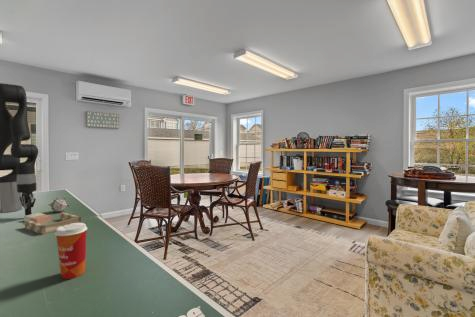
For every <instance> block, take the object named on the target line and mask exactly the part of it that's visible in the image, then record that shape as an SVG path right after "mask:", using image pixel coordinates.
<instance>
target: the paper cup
mask: <svg viewBox="0 0 475 317" xmlns="http://www.w3.org/2000/svg"><path fill="white" fill-rule="evenodd" d="M87 230H88V227H87V225H86V223H84V222H81V223H72V224H69V225H68V224H67V225H64V226H60V227H58V228H57V230H56V231H54V232H55V233H54V235H55V236H56V244H57V245H56V246H57V252H58V261H59V267H60V275H61V278H62V279H63V280H72V279H75V278H78V277H81V276H83V275H84V274H85V271H86V256H87V255H86V254H87V252H86V251H87V248H86V247H87Z"/></svg>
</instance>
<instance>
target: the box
mask: <svg viewBox="0 0 475 317" xmlns="http://www.w3.org/2000/svg"><path fill="white" fill-rule="evenodd" d="M61 212H62V211H61ZM61 212H59V219H60V221H56V222H51V223H48V224H39V223H36V222H33V221H30V220H25V221H24V229H26V230H28V231H32V232H35V233H37V234H40V235H46V234H50V233H53V232H56V230H57V228H58V227H60V226H64V225H67V224H68V225H69V224H72V223H82V216H79V215H75V214H70V213H67V212H62V213H61Z"/></svg>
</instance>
